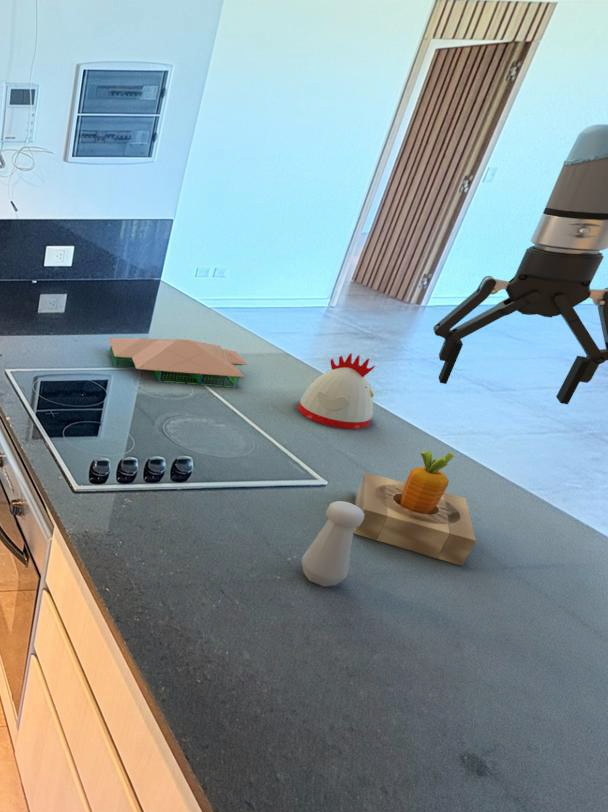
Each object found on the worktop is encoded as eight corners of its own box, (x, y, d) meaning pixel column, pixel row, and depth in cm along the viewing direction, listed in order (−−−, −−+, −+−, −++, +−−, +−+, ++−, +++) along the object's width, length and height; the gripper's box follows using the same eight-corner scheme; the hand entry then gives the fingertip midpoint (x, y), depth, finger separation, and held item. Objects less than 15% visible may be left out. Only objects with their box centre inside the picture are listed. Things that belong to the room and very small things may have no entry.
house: (252, 389, 155) (261, 359, 152) (116, 378, 161) (121, 349, 158) (227, 357, 175) (234, 330, 172) (106, 348, 181) (111, 322, 178)
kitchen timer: (357, 434, 134) (382, 371, 127) (288, 413, 144) (308, 353, 137) (377, 416, 142) (401, 356, 135) (311, 397, 151) (330, 339, 145)
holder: (453, 522, 106) (465, 497, 104) (462, 566, 96) (476, 540, 93) (355, 495, 113) (365, 472, 111) (353, 533, 103) (364, 509, 101)
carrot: (383, 526, 105) (417, 450, 98) (392, 515, 107) (425, 441, 101) (419, 541, 101) (457, 463, 94) (427, 529, 104) (464, 452, 97)
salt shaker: (341, 573, 94) (371, 503, 88) (344, 596, 90) (375, 523, 84) (297, 560, 97) (323, 491, 91) (297, 582, 92) (325, 510, 87)
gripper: (451, 243, 88) (398, 380, 97) (716, 264, 75) (626, 419, 84) (445, 235, 93) (396, 366, 102) (691, 253, 80) (609, 400, 90)
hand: (499, 390), depth 93 cm, fingers open, 13 cm apart
